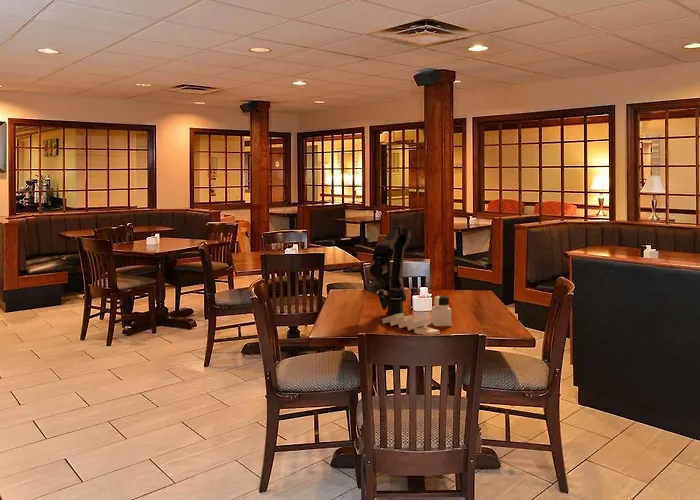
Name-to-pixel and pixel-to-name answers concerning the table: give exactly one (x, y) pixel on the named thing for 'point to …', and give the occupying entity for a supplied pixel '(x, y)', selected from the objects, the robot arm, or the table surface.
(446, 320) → the medicine bottle
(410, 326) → the domino
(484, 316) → the table surface
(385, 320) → the sage domino
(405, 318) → the domino
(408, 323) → the domino
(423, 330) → the domino
